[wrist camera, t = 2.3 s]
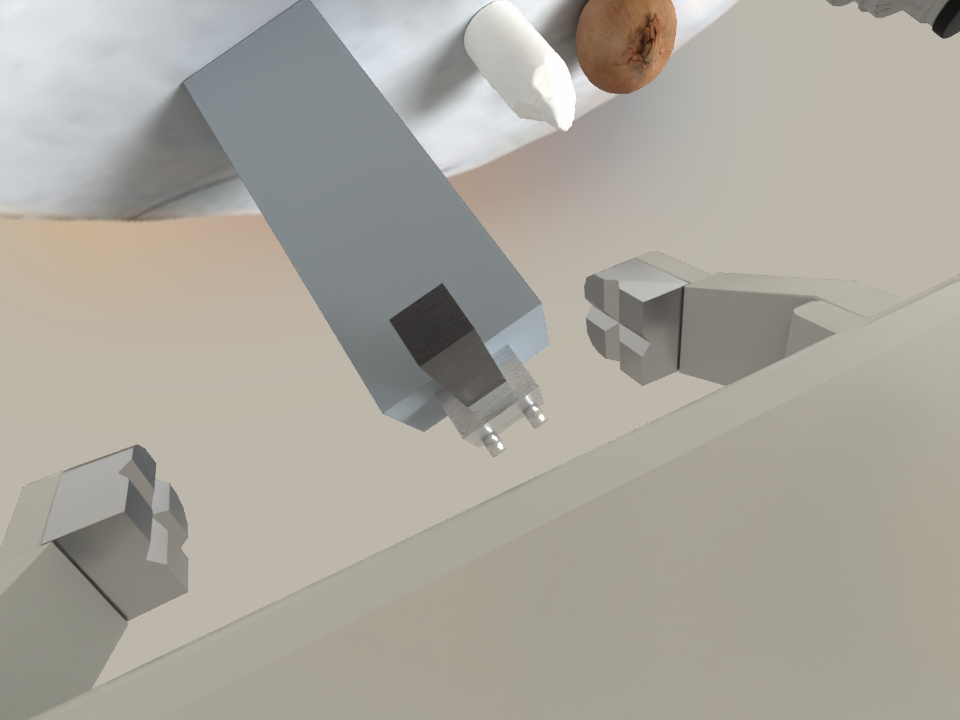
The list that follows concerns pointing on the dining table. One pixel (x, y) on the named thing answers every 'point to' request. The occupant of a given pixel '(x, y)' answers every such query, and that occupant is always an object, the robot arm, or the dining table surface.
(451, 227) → the stand
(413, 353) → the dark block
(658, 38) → the onion
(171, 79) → the dining table surface
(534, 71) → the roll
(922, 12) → the thermos bottle
